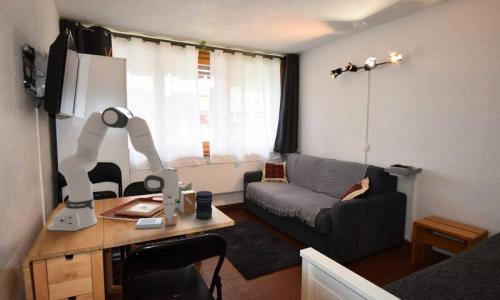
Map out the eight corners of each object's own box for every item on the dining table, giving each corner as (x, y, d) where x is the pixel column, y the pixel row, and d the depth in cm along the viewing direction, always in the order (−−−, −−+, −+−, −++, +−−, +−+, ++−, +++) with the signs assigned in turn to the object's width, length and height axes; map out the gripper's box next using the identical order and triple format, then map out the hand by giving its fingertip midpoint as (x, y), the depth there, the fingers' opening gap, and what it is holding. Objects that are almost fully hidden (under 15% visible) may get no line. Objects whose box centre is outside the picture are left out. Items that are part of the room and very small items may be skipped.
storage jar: (197, 221, 156) (197, 196, 155) (194, 215, 165) (194, 191, 164) (214, 219, 160) (214, 194, 158) (210, 213, 169) (210, 190, 167)
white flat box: (135, 228, 144) (135, 224, 144) (139, 221, 153) (139, 218, 153) (161, 227, 147) (161, 223, 146) (163, 220, 155) (163, 217, 155)
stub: (164, 225, 149) (164, 216, 148) (166, 221, 154) (165, 213, 153) (176, 224, 150) (175, 216, 149) (176, 221, 155) (176, 212, 154)
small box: (183, 214, 167) (183, 193, 166) (180, 211, 172) (179, 191, 171) (195, 212, 171) (195, 192, 170) (192, 209, 177) (192, 189, 175)
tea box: (178, 201, 193) (178, 181, 191) (192, 202, 191) (192, 181, 190) (169, 208, 178) (169, 186, 176) (184, 209, 177) (184, 187, 175)
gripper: (167, 191, 160) (167, 214, 161) (162, 201, 140) (162, 227, 141) (178, 191, 161) (178, 213, 162) (174, 201, 141) (174, 227, 142)
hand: (170, 220), depth 152 cm, fingers closed on stub, 5 cm apart
